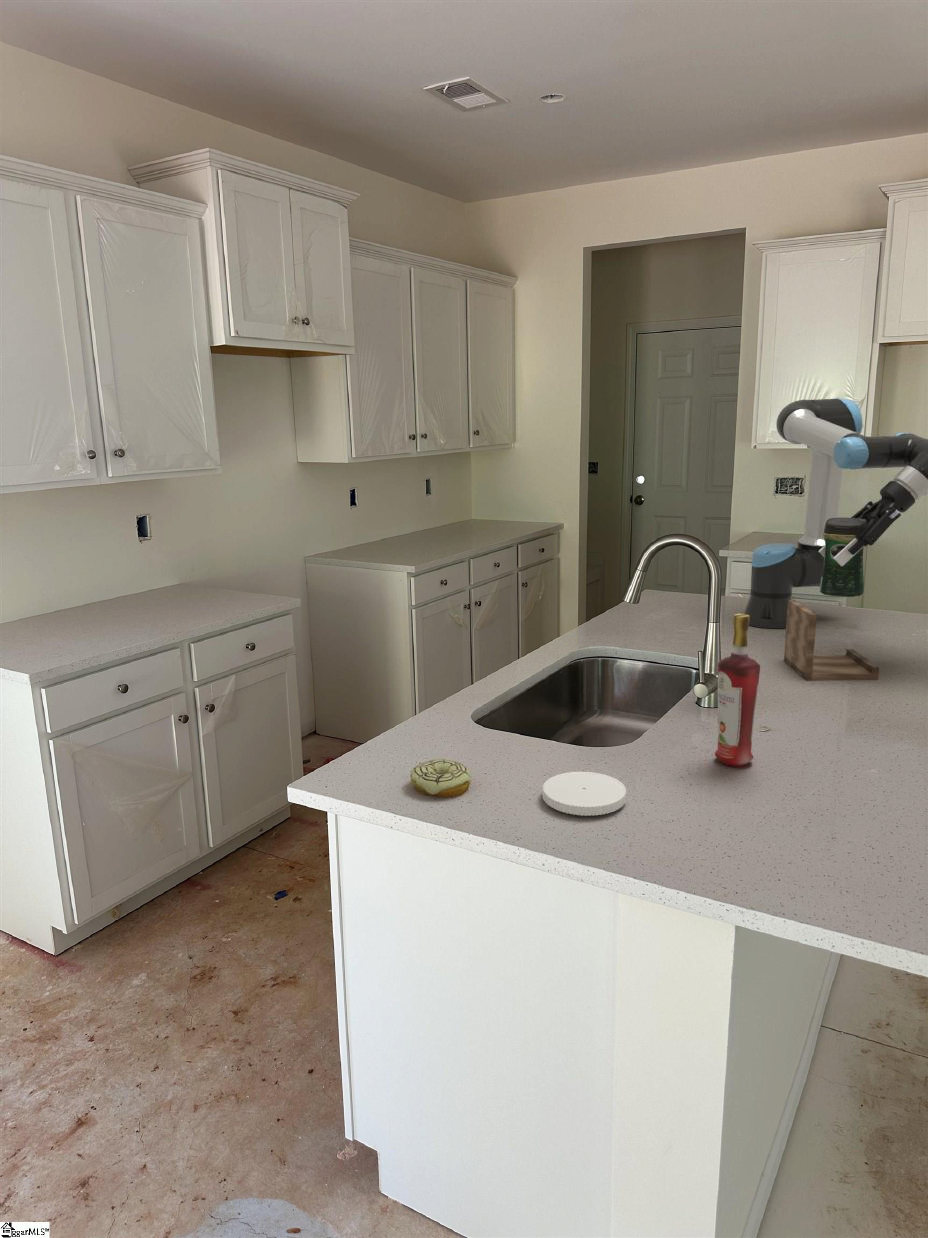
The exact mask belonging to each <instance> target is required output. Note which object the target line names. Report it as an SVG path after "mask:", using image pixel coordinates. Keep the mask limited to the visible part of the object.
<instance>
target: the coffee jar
mask: <svg viewBox="0 0 928 1238" xmlns="http://www.w3.org/2000/svg"><path fill="white" fill-rule="evenodd" d="M866 526H867V522H866V520H865V519H859V518H851V517H847V516H846V517H845V516H844V517H838V518H830V519H828V520H827V521H826V524H825V529H824V533H823V537H824V540H825V558H824V565H823V571H822V577H821V583H820V587H819V592H820V593H821V594H823V595H825V596H829V597H837V598H838V597H840V598H854V597H861V596H862V595H863V593H864V587H865V579H864V578H865V577H864V547H865V546H864V547H863V548H862V549H861V550H860V551H859V552H857V553H856V554H855V555H854V556H853V557H852V558H851V559H850V560H849V561H848V562H847V563H845V564H844V565H843V566H840V564H839V563H838V562H837V561H836V560H835V559H834V557H835V556H836V555H837V554H838V553H839V552H840V551H841V550H843V549H844V548H845V547H846V546H847V545H848V544H849V543H850V542H851V541H852V540H853V539H854V538H856V537H855V536H857V535H860V534H861V533H862V532H863V530H864V529H865V528H866ZM856 539H857V538H856ZM857 540H858V539H857Z"/></svg>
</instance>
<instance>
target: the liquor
mask: <svg viewBox="0 0 928 1238" xmlns="http://www.w3.org/2000/svg"><path fill="white" fill-rule="evenodd" d="M749 626H750V625H749V615H747V614H743V613H735V614H733V631H734V632H733V639H732V645H731V652H730V655H729V656H726V657H724V658H723V659H721V660H720V661H718V662H717V749H716V750H715V752H714V756H715V757H716V759H718V760H719V761H720V762H721V763H722V764H723V765H725V766H727V767H731V768H739V767H744V766H746V765H748V763H750V762H751V761H753V759H754V755H753V753H752V744H753V737H754V736H753V734H754V724H755V717H756V708H757V707H756V706H757V699H758V693H759V684H760V683H759V680H760V674H761V673H760V672H761V665H760V664H759V663H758V662H757V661H756V660H755V659H753V658H751V657H749V652H748V651H749V649H748V643H749V642H748V630H749Z"/></svg>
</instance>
